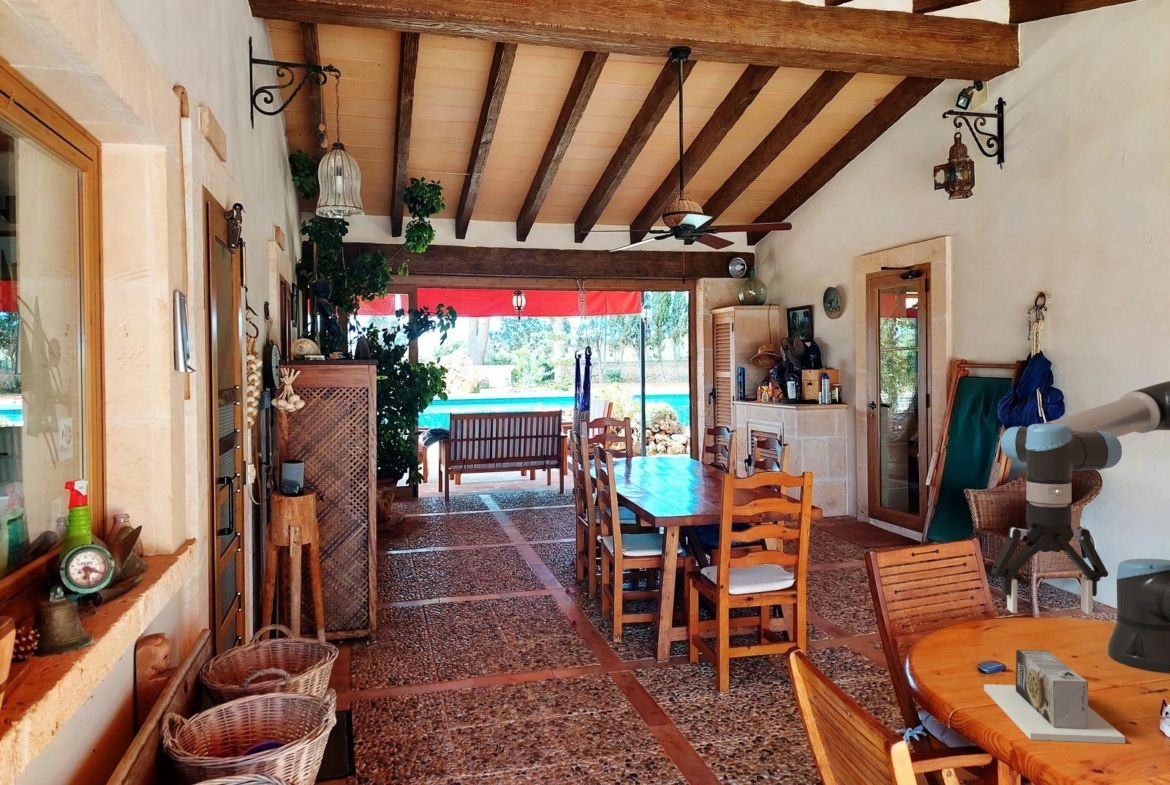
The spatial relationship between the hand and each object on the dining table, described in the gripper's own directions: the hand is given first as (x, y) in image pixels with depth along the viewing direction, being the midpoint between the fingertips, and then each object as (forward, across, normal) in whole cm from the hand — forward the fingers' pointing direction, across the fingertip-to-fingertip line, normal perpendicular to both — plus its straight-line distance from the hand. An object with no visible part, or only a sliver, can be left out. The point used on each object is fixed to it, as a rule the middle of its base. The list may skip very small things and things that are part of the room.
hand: (1049, 611), depth 150 cm
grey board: (+20, 0, 0) cm, 20 cm away
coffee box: (+14, 0, -9) cm, 17 cm away
